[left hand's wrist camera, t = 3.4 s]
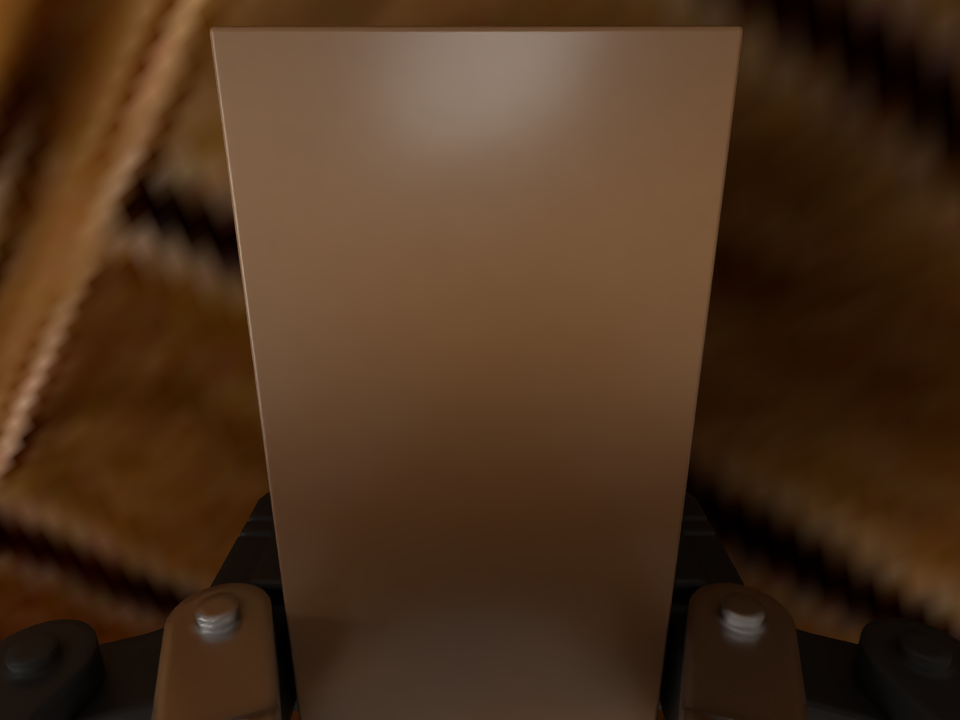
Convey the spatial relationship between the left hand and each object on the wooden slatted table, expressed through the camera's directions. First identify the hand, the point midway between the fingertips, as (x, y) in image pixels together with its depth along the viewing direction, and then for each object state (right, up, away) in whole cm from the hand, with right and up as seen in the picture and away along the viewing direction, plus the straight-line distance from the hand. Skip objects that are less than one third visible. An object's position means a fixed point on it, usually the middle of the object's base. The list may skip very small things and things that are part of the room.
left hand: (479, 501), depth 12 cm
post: (0, -18, +9) cm, 20 cm away
